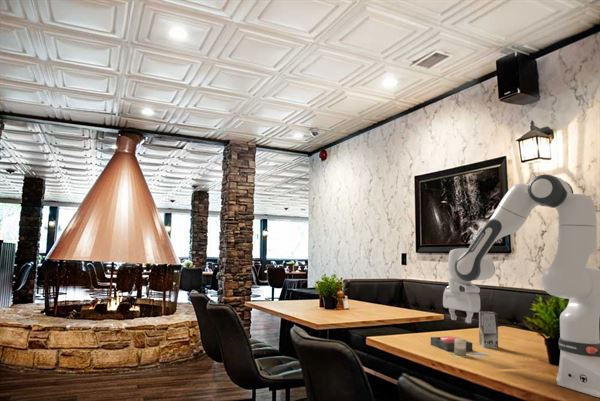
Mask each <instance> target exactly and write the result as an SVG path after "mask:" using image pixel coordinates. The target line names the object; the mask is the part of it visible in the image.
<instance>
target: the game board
mask: <svg viewBox="0 0 600 401" xmlns="http://www.w3.org/2000/svg"><path fill="white" fill-rule="evenodd" d="M440 337H441V336H430V346H432V347H435V348H437V349H440V350H442V351H444V352H448V354H449V355H451V356H454V357H456V358H472V357H473V356H474V357H477V358H478V357H480V358H481V357H490V355H489V354H486V353H483V352H473V342H471V341H468V340H466V352H467V353H466V356H457V355H455V347H454V343H447V342H444V341H441V340H440ZM468 354H469V355H468ZM471 355H472V356H471Z"/></svg>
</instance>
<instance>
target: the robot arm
mask: <svg viewBox="0 0 600 401" xmlns="http://www.w3.org/2000/svg"><path fill="white" fill-rule="evenodd" d="M537 206H541V207H547V208H552V209H555V210H556V211H557V214H558V236H557V239H558V240H557V242H558V243H557V251H556V253H555V256H554V258H553V261H552V262H551V264H550V265H549V266H548V268H547V269H545V270H544V271H543V273H542V274H541V275H542V276H541V284H542V287H543V290H544V291H545V292H546V293H547V294H549V295H550V296H553V297H556V298H561V299H568V303H567V306H566V307H565V308H564V310H563V311H562V312H561V313H560V315H559V334H560V335H559V336H560V337H559V338H558V348H559V350H560V353H559V354H560V355H559V362H558V363H559V365H558V371H557V376H556V380H555V381H556V385H557V386H561V387H564V388H566V389H570V390H573V391H577V392H580V393H583V394H586V395H590V396H592V397H597V398H600V268H596V267H594V266H587V265H588V261H589V259H590V257H591V256H592V255H593V254H594V253H595V252H596V251H597V248H598V230H597V229H598V221H597V211H596V207H595V202H594V200H593V199H592V198H591V197H590V196H589V195H586V194H582V193H574V190H573V187H572V186H571V184H570V183H568V182H567V181H565V180H563V179H562V178H560V177H558V176H555V175H552V174H540V175H537V176H535V177H533V178H532V179H531V180H530V182H529V184H526V183H525V184H524V183H515V184H513V185H512V186H511V187H510V188H509V189H508V190H507V191H506V193H505V194H504V195H503V197H502V199H501V200H500V201H499V203H498V205H497V207H496V209H494V212H493V213H492V215H491V216H490V218H489V219H488V220H487V221H486V223H485V224H484V226H482V228H481V229H480V231H479V232H478V234H477V235H476V237H475V238H474V240H473V241H472V242H471V244H470V245H469V247H468V248H467V247H457V248H453V249H450V251H449V253H448V261H447V265H448V268H447V269H448V272H449V276H448V286H446V287H445V288H444V291H443V293H442V294H443V296H442V305H443V308H445V309H448V312H449V315H450V319H451V320H452V321H457V318H458V316H457V314H456V310H458V311H464V312H465V313H466V317H465V318H464V323H466V324H472V318H473V316H474V313H479V311H481V297H480V294H479V293H480V292H481V289H480V287H479V286H477V285H475V284H474V283H472V281H484V280H489V279H491V278H492V277H493V276H494V275H495V271H496V266H495V263H494V261H492V259H491V258H489V257H486V255H487V253H488V252H489V250H490V249H491V248H492V246H493V245H494V243H495V242H497V241H498V240H500V239H501V238H505V237H506V236H508V235H509V236H510V235H512V234H515V233H517V232H518V231H519V230H520V229H521V227H523V226H524V224H525V223H526V221H527V219H528V218H529V216H530V213H531V212H532V211H533V210H534V209H535V207H537Z"/></svg>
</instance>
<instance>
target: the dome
mask: <svg viewBox="0 0 600 401" xmlns="http://www.w3.org/2000/svg"><path fill="white" fill-rule="evenodd" d="M439 337H440V340H441V341H444V342H447V343H454V339H462V338H460V337H456V336H449V335H448V336H447V335H445V336H439Z"/></svg>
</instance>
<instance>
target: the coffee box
mask: <svg viewBox="0 0 600 401" xmlns="http://www.w3.org/2000/svg"><path fill="white" fill-rule="evenodd" d="M498 316H499V313H496V312H495V311H489V310H488V311H486V310H485V311H481V310H480V311H479V312H478V332H479V334H478V337H479V338H478V339H479V345H480V346H481V347H482V348H485V349H495V350H498V349H499V318H498Z"/></svg>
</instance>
